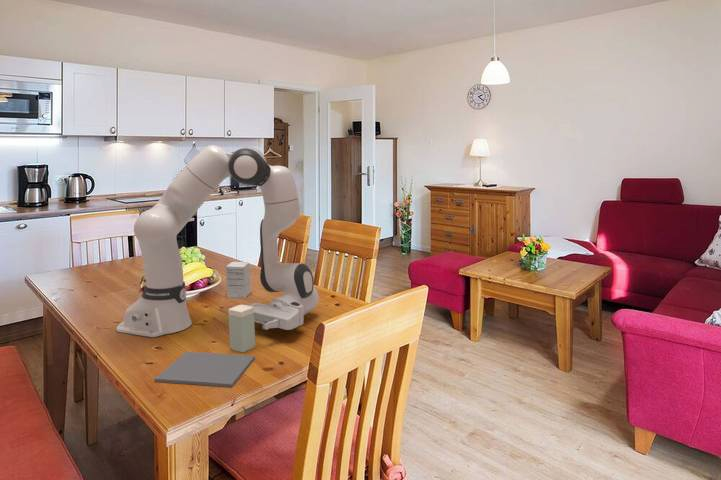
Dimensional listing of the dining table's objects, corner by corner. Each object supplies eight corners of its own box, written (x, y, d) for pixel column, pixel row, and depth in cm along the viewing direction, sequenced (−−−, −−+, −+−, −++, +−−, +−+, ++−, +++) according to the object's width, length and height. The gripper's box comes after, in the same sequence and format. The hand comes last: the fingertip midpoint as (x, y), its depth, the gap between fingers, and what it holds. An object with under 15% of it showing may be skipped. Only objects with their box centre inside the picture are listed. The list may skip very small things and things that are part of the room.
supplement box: (233, 292, 189) (231, 261, 187) (251, 292, 189) (250, 262, 186) (226, 297, 182) (224, 266, 180) (245, 298, 181) (243, 266, 179)
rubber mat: (154, 381, 116) (154, 378, 116) (186, 354, 132) (186, 351, 132) (231, 387, 114) (231, 384, 114) (254, 358, 129) (254, 355, 129)
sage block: (230, 348, 136) (228, 309, 133) (242, 342, 140) (240, 304, 138) (243, 352, 133) (241, 312, 131) (255, 346, 137) (253, 307, 135)
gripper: (257, 295, 155) (225, 307, 143) (307, 306, 145) (277, 319, 133) (257, 313, 156) (226, 326, 145) (307, 325, 146) (278, 340, 134)
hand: (251, 323), depth 139 cm, fingers open, 8 cm apart
